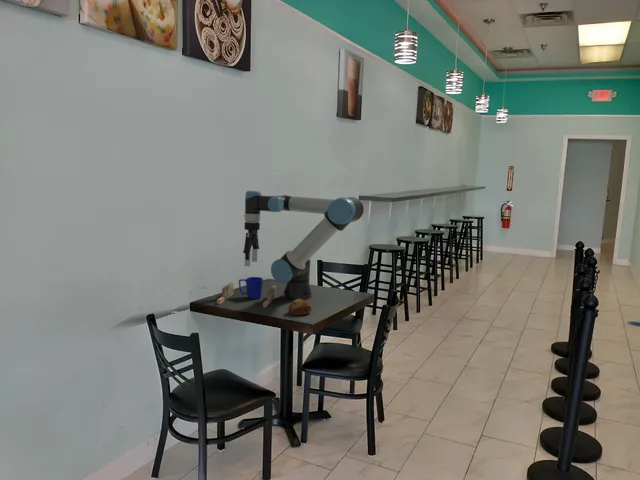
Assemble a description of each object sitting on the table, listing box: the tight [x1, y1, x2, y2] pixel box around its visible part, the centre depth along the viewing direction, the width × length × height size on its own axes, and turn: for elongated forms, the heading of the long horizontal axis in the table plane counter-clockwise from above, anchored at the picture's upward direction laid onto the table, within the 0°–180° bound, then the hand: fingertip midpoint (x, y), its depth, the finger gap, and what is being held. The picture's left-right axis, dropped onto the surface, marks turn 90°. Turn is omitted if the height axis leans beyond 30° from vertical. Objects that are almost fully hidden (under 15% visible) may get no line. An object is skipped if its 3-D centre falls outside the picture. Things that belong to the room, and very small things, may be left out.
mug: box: [238, 276, 264, 300], centre depth 262 cm, size 8×12×10 cm
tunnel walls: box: [221, 282, 277, 304], centre depth 260 cm, size 24×14×6 cm, turn 83°
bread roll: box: [288, 299, 313, 316], centre depth 235 cm, size 10×10×8 cm
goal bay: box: [216, 296, 270, 308], centre depth 249 cm, size 24×7×2 cm, turn 83°
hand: (251, 263), depth 260 cm, fingers open, 13 cm apart
